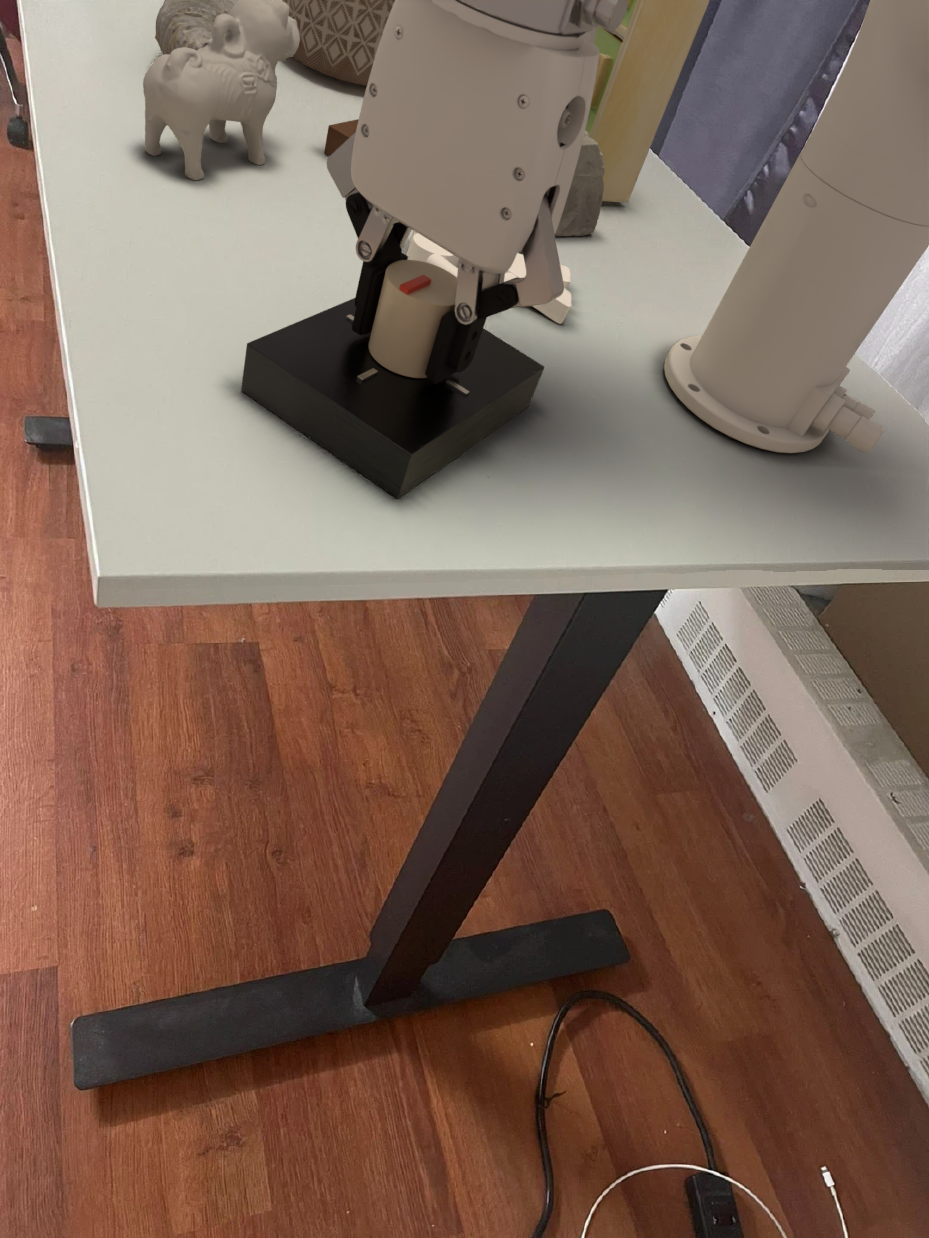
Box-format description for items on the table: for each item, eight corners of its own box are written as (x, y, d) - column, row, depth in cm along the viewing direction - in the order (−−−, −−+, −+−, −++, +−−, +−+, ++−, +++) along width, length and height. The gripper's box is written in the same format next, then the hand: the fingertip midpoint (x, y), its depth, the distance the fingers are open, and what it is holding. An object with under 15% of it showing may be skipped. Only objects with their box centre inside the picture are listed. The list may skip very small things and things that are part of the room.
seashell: (254, 19, 80) (240, -76, 73) (236, 134, 76) (219, 45, 68) (182, 12, 80) (160, -85, 72) (159, 127, 75) (134, 37, 68)
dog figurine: (300, 155, 71) (324, 3, 64) (186, 187, 63) (198, 14, 55) (248, 125, 72) (265, -29, 65) (128, 152, 63) (132, -22, 56)
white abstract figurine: (414, 222, 68) (424, 195, 66) (557, 285, 71) (569, 261, 69) (401, 276, 62) (411, 248, 60) (558, 343, 64) (572, 317, 63)
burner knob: (399, 324, 53) (419, 247, 49) (458, 362, 52) (483, 286, 48) (352, 346, 50) (370, 266, 46) (414, 388, 49) (437, 308, 45)
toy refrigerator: (522, 156, 84) (611, -120, 69) (584, 163, 88) (682, -98, 73) (564, 199, 80) (668, -84, 65) (627, 205, 84) (740, -63, 69)
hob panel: (391, 319, 59) (403, 275, 56) (528, 407, 56) (546, 364, 54) (240, 390, 49) (247, 340, 47) (397, 499, 47) (411, 452, 45)
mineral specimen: (515, 178, 79) (565, 91, 73) (588, 243, 79) (643, 161, 73) (475, 192, 74) (525, 100, 68) (553, 262, 74) (610, 176, 68)
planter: (267, 29, 88) (282, -100, 81) (391, 58, 93) (415, -62, 86) (285, 81, 81) (303, -56, 73) (418, 109, 85) (448, -16, 78)
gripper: (715, 55, 38) (561, 405, 51) (405, -104, 42) (335, 261, 55) (644, 71, 33) (494, 455, 46) (298, -112, 37) (248, 293, 50)
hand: (408, 347), depth 50 cm, fingers closed on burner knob, 4 cm apart
